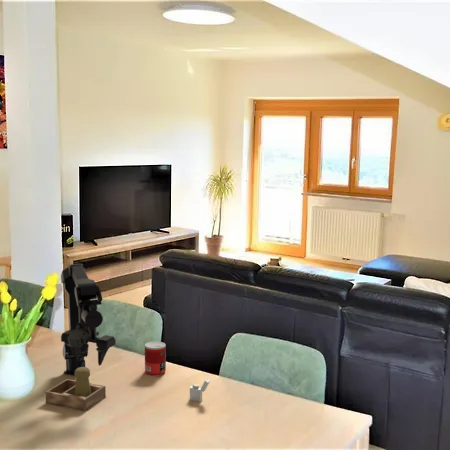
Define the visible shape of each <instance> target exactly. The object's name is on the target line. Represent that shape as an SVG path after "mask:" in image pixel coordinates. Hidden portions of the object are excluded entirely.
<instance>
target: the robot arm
mask: <svg viewBox="0 0 450 450" xmlns="http://www.w3.org/2000/svg"><path fill="white" fill-rule="evenodd" d="M60 282H61V284H62V287H63V288H64V291H65V292H66V293H67V311H68V312H67V313H68V330H66V331H63V332H62V334H61V336H60V341H61V342H62V343H63V347H62V356H63V359H64V360H65V368H66V370H64V371H63V374H66V375H70V376H71V375H72V376H75V374H74V373H75V370H76V369H77V368H79V367H86V359H85V358H87V357H88V355H89V352H88V351H89V345H90V344H88V343H94V344H95V345H96V348H95V350H96V351H97V363H98V366H102V364H103V362H104V359H105V357H106V355H107V352H109V351H108V350H109V349H110V348H112V347H113V346H115V345H117V344H116V343H117V341H116V338H115V336H112V335H108V334H105V335H103V336H101V337H97V336H99V335H100V332H99V331H97V328H98V327H100V326H101V325H102V323H103V322H104V321H103V320H104V319H103V314H102V313H101V311H100V310H98V305H99V306H100V305H102V302H103V295H102V291H101V288H100V285H98V284H97V283H96V281H95V280H94V279H90V278H89V276H88V274H87V273H86V268H85V266H84V263H74V264H73V263H72V264H69V265H68V267H66V268H65V269H63V270H62V271H61V273H60Z"/></svg>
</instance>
